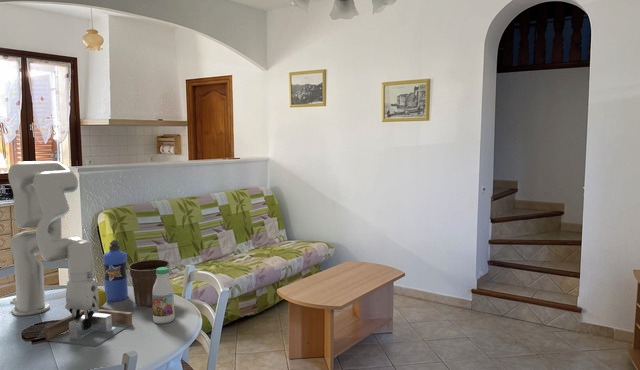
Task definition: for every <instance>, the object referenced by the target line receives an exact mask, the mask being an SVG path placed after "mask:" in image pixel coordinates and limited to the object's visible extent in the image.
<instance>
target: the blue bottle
mask: <svg viewBox="0 0 640 370" xmlns="http://www.w3.org/2000/svg"><path fill="white" fill-rule="evenodd" d="M108 249H109V251H107V252H106V253H104V254H103V255H102V263H103V267H104V279H103V280H104V282H103V284H104V287H103V288H104V291H105V293H106V297H107V299H106V302H109V303H110V302H120V301H124V300H126V299H128V297H129V294H128V292H129V289H128V287H129V285H128V274H127V263H128V253H127V252H125V251H122V250H121V245H120V242H119V241H118V240H117V239H114V240H111V241H110V242H109V246H108Z"/></svg>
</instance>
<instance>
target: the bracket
mask: <svg viewBox="0 0 640 370" xmlns="http://www.w3.org/2000/svg"><path fill="white" fill-rule="evenodd" d="M84 318H85V316H84V315H83V316H81V317H79V318H77V319H75V320H73V321H71V322H69V337H70V338H71V339H78V338H80V337H82V336H84V335H86V334H87V333H89V332H91V331H95V332H104V333H107V332H109V331H110V330H112V315H111V314H102V313H94V314H93V316H91V319H92V327H90V328H89V329H87V330H84V322H83V319H84Z"/></svg>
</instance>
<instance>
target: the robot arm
mask: <svg viewBox="0 0 640 370" xmlns="http://www.w3.org/2000/svg"><path fill="white" fill-rule="evenodd" d="M7 177H8V183H9V184H10V187H11V189H12V194H13V217H14V224H15V226H16V228H18V229H24V230H25V229H33V230H27V231H21V232H19V233H15V234H14V235H13V236H12V237H11V238H10V243H9V247H10V250H11V252H12V253H11V255H12V257H13V263H14V264H13V266H14V277H15V280H14V281H15V293H16V294H15V295H16V297H13V298H12V300H10V303H9V304H10V305H14V308H13V309H12V310H11V311H12V315H14V316H20V317H21V316H22V317H23V316H33V315H37V314H41V313H44V312H46V311H47V310H49V309H50V303H48V302H46V300H45V299H46V297H45V295H46V294H45V279H44V278H45V275H44V264H43V262H42V261H41V260H40V259H38V257H37V255H40V256H41V258H42V259H43V261H44V262H47V263H55V262H60V261H65V260H67V273H68V277H67V278H68V280H67V282H66V290H65V301H66V302H65V303H66V304H65V307H64V308H65V309H66V310H67V311H68V312H70V315H72V317H73V318H74V320H75V319H77V318H79V317H81V316H82V315H80V314H81V310H84V316H85V318H84V319H83V322H84V330H87V329H89V328H90V327H92V319H91V316H93V314H94V313H95V312H97V311H99V310H100V309H101V307H100V308H99V306H98V305H99V295H98V289H99V288H98V284H97V281H96V279H95V278H96V275H95V273H94V269H93V267H94V266H93V252H92V251H93V249H92V247H93V246H92V242H91V241H90V240H87V239H84V238H82V237H80V236H70V237H69V236H68V237H63V238H62V217H63V216H65V215H66V214H67V213H69V211H70V206H69V204H68V203H69V202H68V200H67V198H66V193H69V194H70V193H73V192H75V191H77V189H78V186H79V181H78V178H77V176H76V174H75V172H74V171H73V170H72V169H71V168H69V167H68V166H66V165H64V163H62V162H60V161H58V160H57V161H56V160H55V161H54V160H45V161H44V160H43V161H42V160H41V161H40V160H39V161H37V160H36V161H35V160H32V161H20V162H15V163H13V164H11V165H10V167H9V168H8V176H7ZM34 228H36V229H34ZM92 308H93V309H92ZM88 311H89V313H88Z"/></svg>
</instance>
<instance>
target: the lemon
mask: <svg viewBox="0 0 640 370" xmlns="http://www.w3.org/2000/svg"><path fill="white" fill-rule="evenodd" d="M98 295H99V305H98V306H99V308H100V309H101V307H103V306H104V305H105V304H106V302H107V301H106V299H107V297H106V293H105V289H102V288H98Z"/></svg>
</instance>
